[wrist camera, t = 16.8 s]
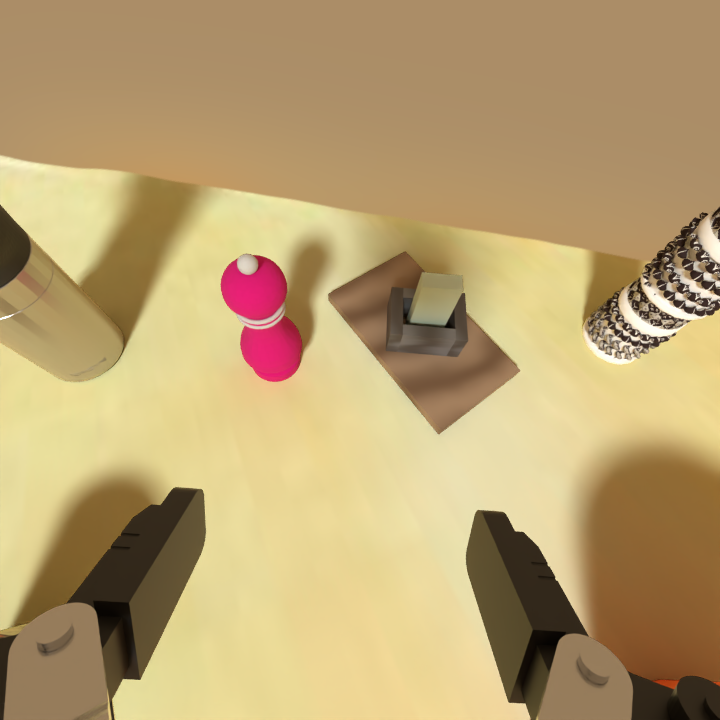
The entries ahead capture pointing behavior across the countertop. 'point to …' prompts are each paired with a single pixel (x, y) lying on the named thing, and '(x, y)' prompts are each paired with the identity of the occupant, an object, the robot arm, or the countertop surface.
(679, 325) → the decorative candle
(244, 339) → the pepper mill
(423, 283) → the slat
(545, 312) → the countertop surface
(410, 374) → the brown piece
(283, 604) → the countertop surface
